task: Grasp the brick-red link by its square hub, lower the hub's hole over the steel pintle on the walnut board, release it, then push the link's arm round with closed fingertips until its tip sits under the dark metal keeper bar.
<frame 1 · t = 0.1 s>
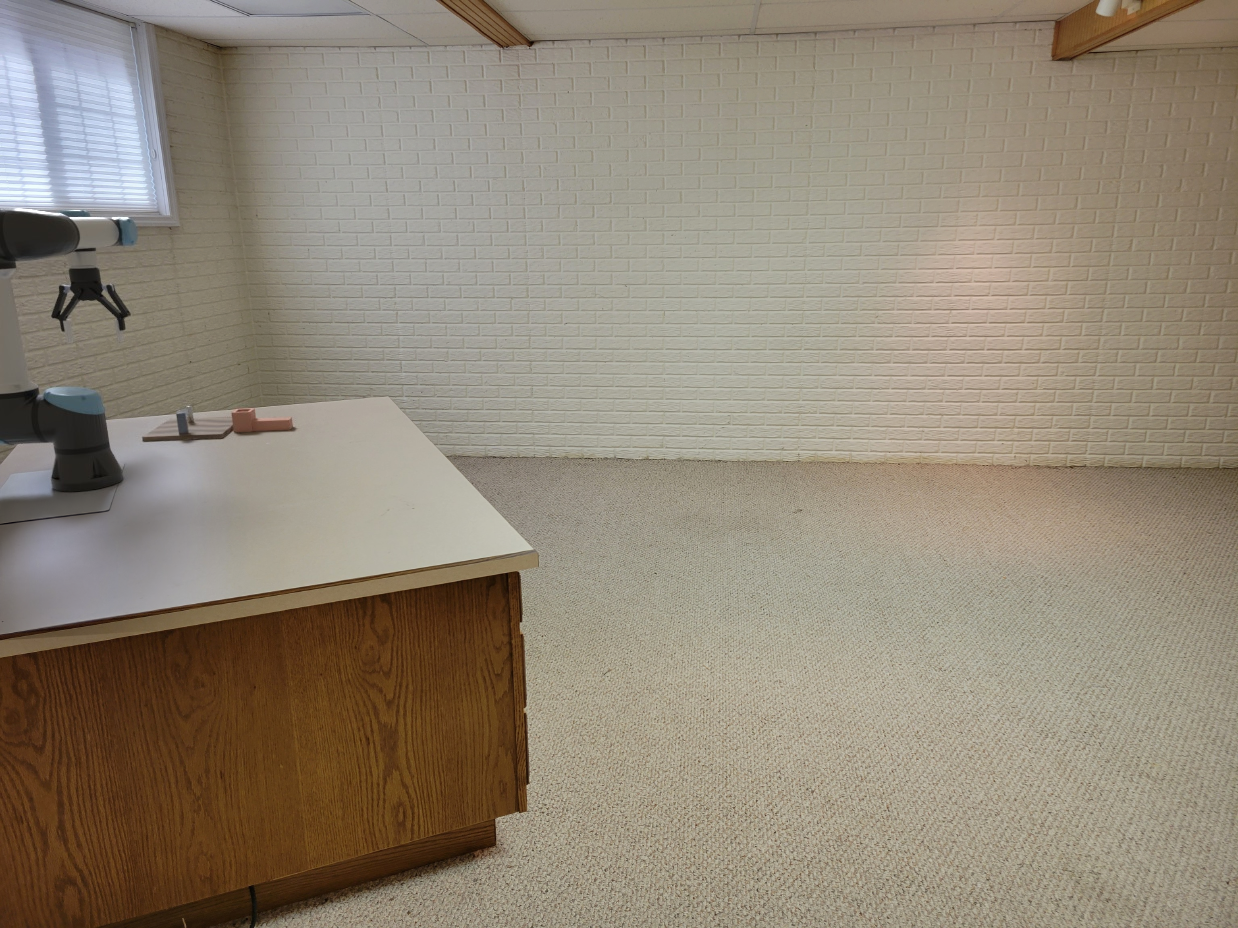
hand: (95, 342, 256), 28 cm above the table, fingers open, 13 cm apart
keeper: (185, 435, 264), resting on board
board: (195, 430, 271), on the table
pintle: (191, 426, 276), resting on board
link: (284, 428, 273), on the table
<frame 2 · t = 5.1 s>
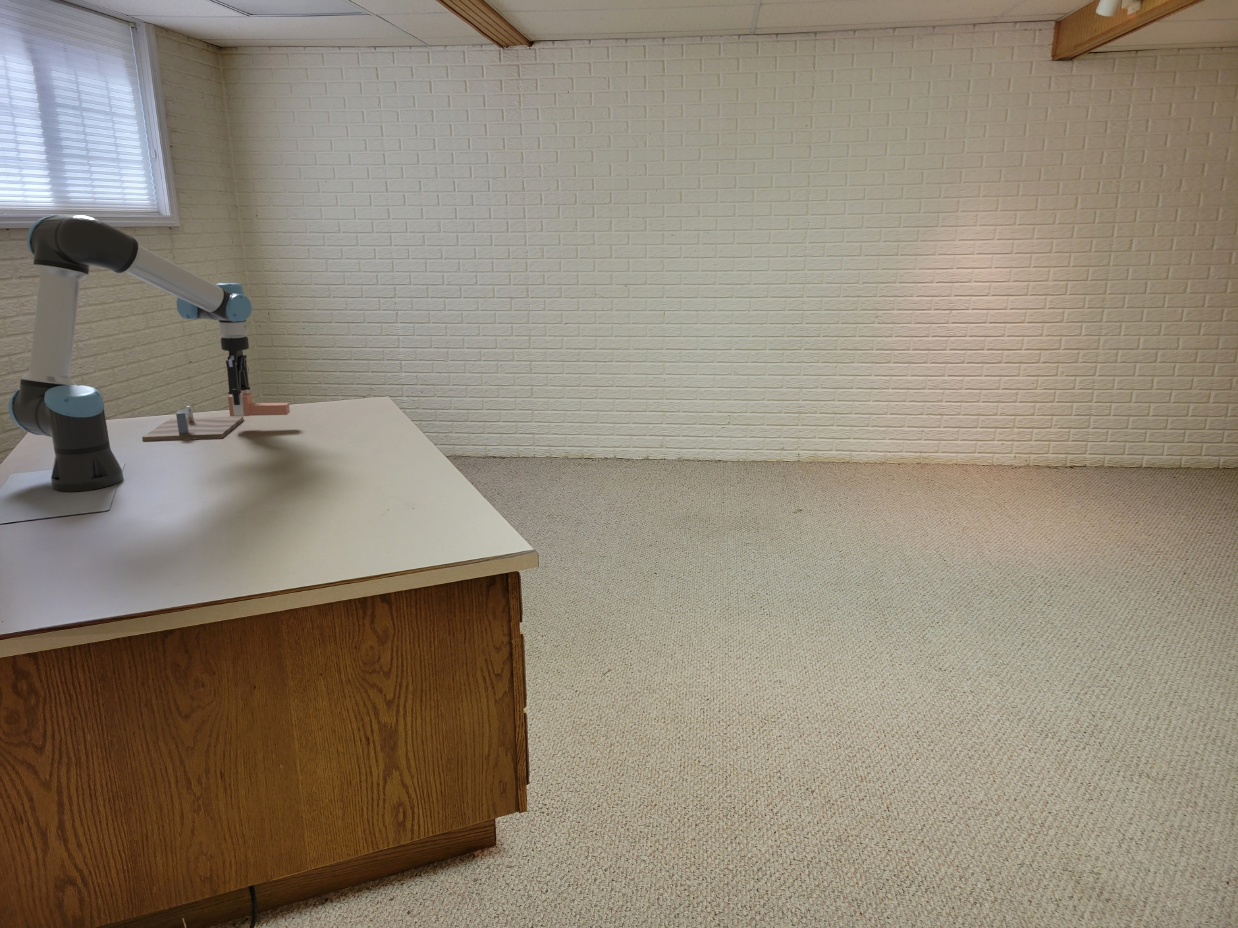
hand: (241, 413, 269), 5 cm above the table, fingers closed on link, 5 cm apart
link: (281, 413, 271), point 5 cm above the table, touching gripper
when the fingers open (2 cm above the table, at t = 9.5 s): link moves 2 cm, point 1 cm above the table.
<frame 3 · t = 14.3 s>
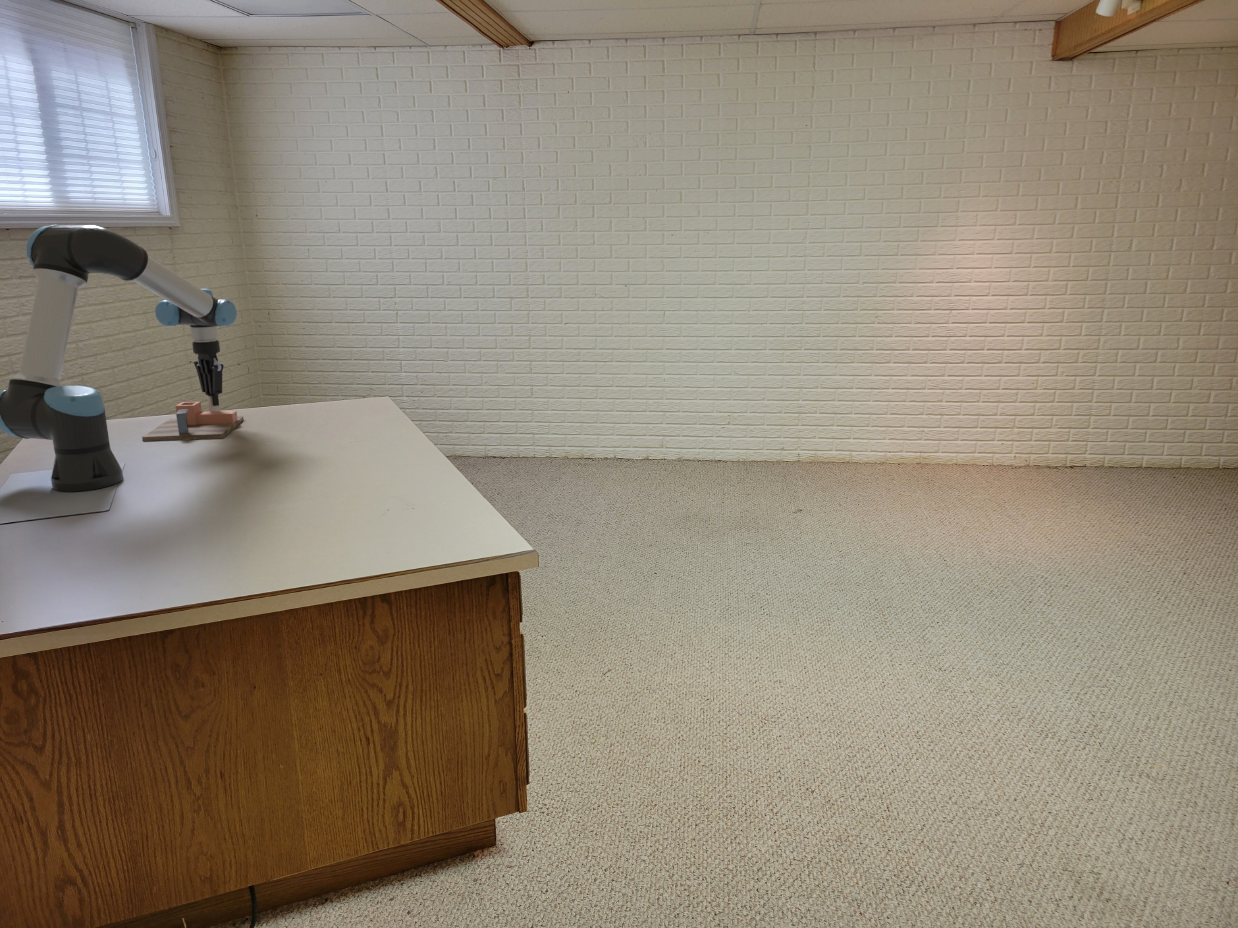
hand: (215, 415, 279), 3 cm above the table, fingers closed
link: (228, 422, 276), point 1 cm above the table, touching gripper
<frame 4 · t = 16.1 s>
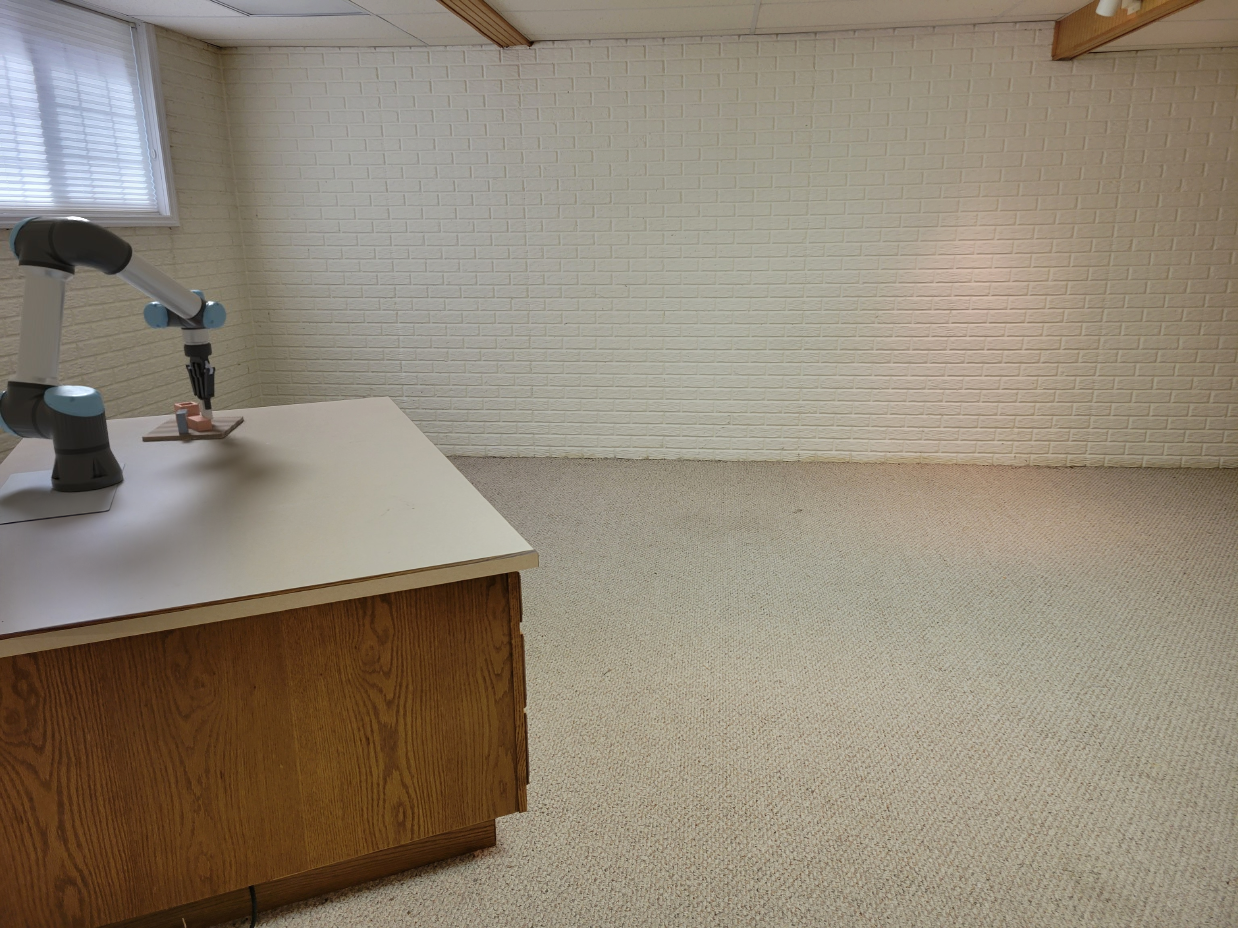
hand: (207, 419, 273), 3 cm above the table, fingers closed
link: (202, 429, 267), point 1 cm above the table, touching board
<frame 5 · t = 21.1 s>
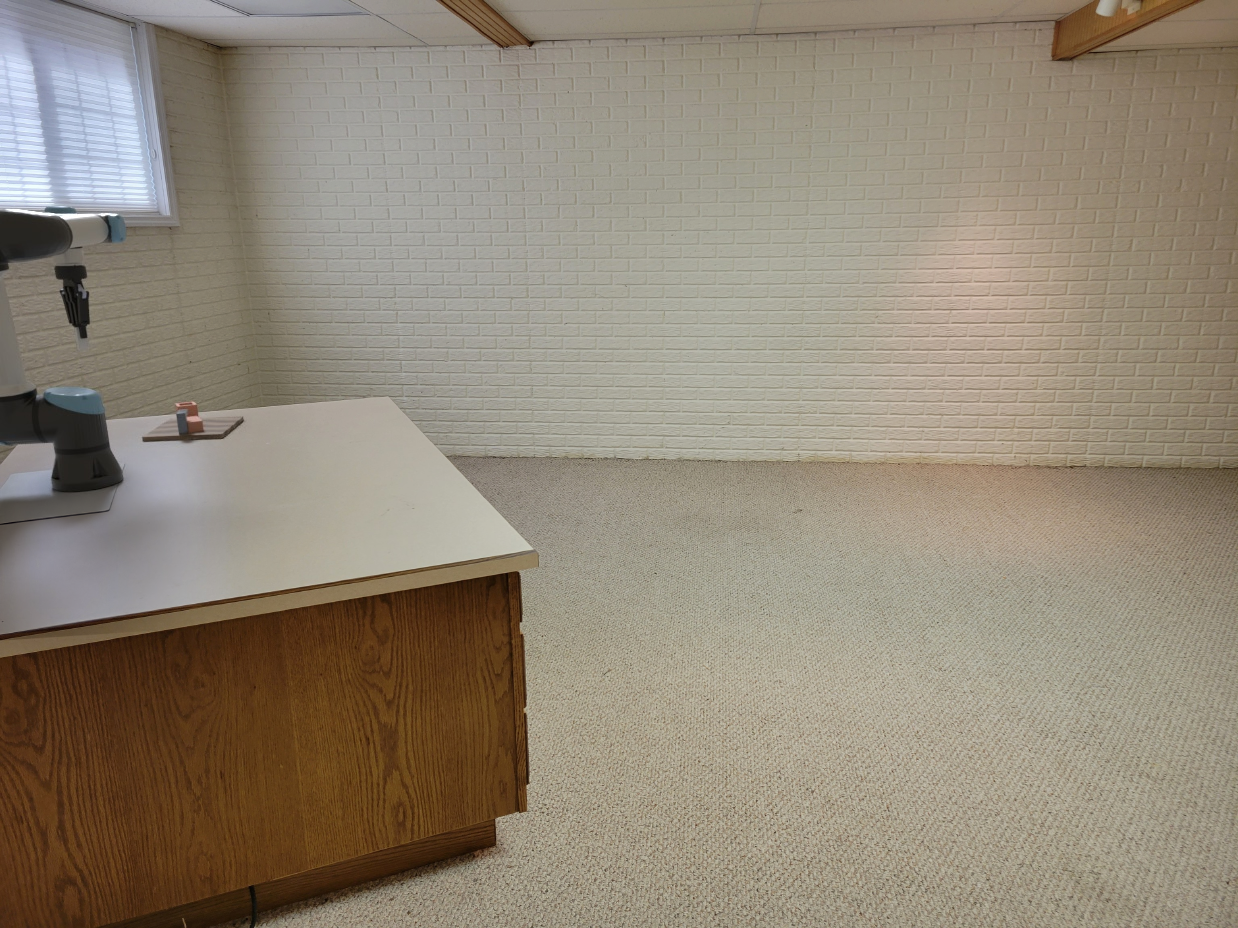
hand: (83, 349, 252), 26 cm above the table, fingers closed
link: (195, 430, 266), point 1 cm above the table, touching board
at the end: link 2.7 cm from the target spot, point 1.2 cm above the table; link point 1.2 cm above the table; link tilted 0° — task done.
